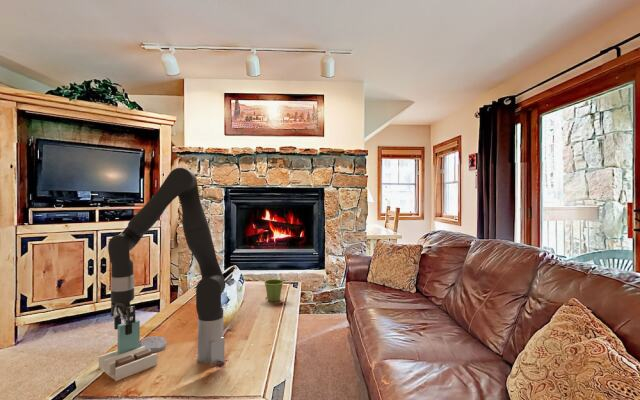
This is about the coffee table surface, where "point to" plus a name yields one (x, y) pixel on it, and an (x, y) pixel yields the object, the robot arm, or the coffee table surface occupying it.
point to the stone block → (154, 343)
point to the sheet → (128, 338)
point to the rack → (128, 369)
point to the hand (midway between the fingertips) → (123, 331)
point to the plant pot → (273, 289)
